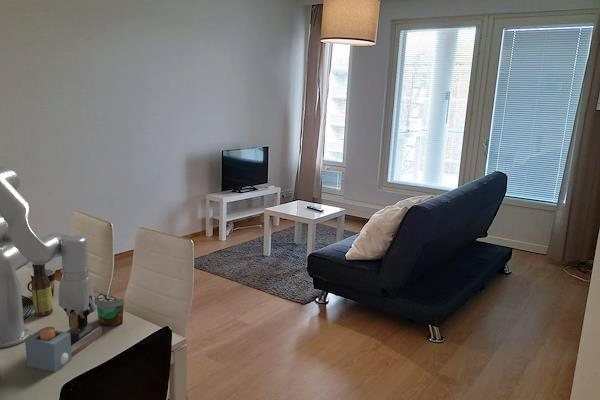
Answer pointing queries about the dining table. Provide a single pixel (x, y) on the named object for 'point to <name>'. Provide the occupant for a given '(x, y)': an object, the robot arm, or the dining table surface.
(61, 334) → the blue-grey box
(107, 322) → the food container
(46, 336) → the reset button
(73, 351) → the rail
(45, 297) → the sauce bottle
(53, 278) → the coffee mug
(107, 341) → the dining table surface
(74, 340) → the carriage
